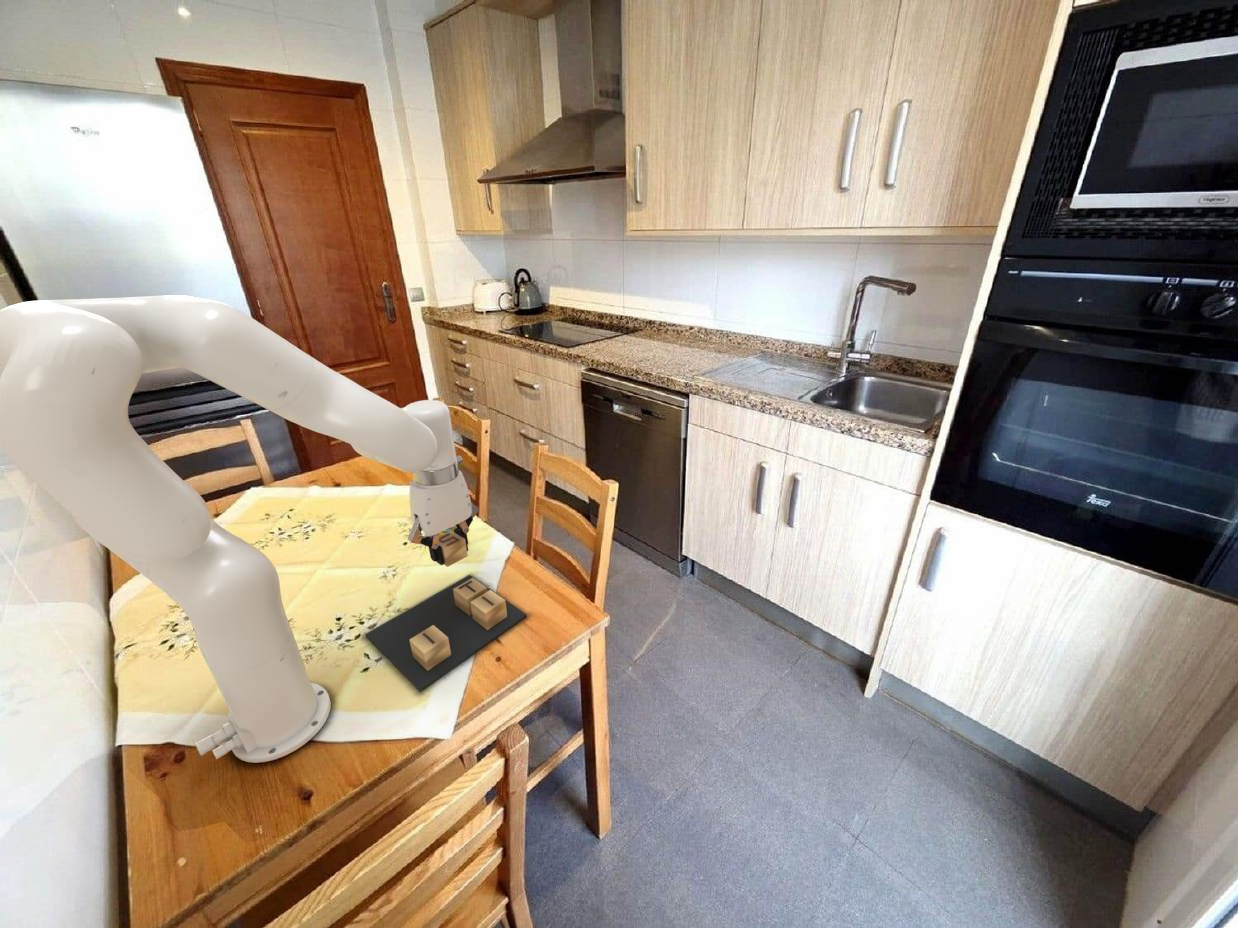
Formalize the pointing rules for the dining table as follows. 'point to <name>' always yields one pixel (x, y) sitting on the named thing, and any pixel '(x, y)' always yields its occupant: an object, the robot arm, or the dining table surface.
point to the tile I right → (488, 609)
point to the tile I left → (430, 647)
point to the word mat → (450, 621)
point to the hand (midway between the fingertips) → (450, 554)
